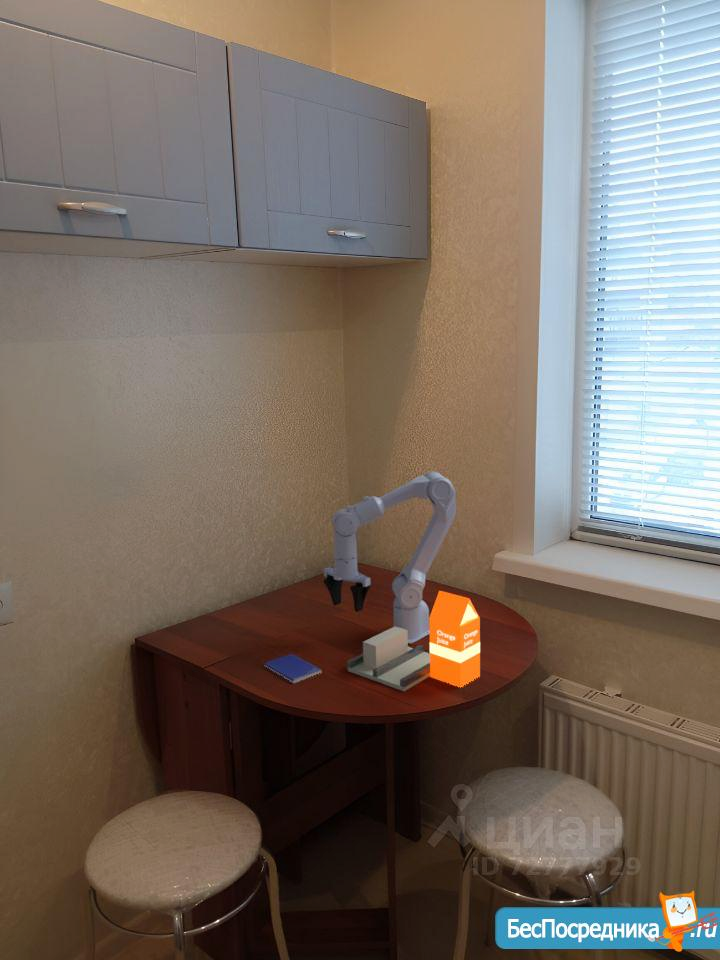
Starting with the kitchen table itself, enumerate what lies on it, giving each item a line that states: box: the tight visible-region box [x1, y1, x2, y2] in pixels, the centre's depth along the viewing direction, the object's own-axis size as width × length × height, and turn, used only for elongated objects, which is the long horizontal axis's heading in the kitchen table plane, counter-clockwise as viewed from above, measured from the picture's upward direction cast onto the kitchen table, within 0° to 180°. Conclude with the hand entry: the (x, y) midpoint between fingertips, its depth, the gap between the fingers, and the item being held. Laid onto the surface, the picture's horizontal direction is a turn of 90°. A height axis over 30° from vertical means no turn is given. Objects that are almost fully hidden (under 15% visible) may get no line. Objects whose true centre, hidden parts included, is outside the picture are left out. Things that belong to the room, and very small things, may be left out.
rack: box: [346, 644, 430, 692], centre depth 181 cm, size 18×17×2 cm
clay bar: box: [362, 626, 409, 669], centre depth 183 cm, size 12×4×6 cm, turn 138°
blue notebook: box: [264, 653, 323, 684], centre depth 182 cm, size 2×8×12 cm
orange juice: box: [429, 590, 481, 689], centre depth 173 cm, size 8×9×20 cm
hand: (347, 607), depth 195 cm, fingers open, 7 cm apart
